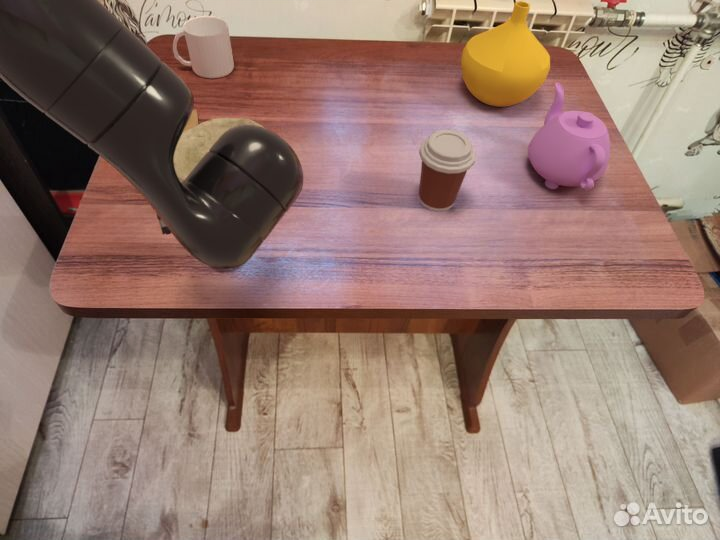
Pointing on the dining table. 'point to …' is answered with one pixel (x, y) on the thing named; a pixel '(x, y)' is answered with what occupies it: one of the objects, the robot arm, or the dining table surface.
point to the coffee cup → (444, 168)
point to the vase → (505, 62)
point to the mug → (207, 46)
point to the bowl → (202, 142)
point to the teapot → (570, 146)
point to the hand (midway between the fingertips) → (215, 211)
